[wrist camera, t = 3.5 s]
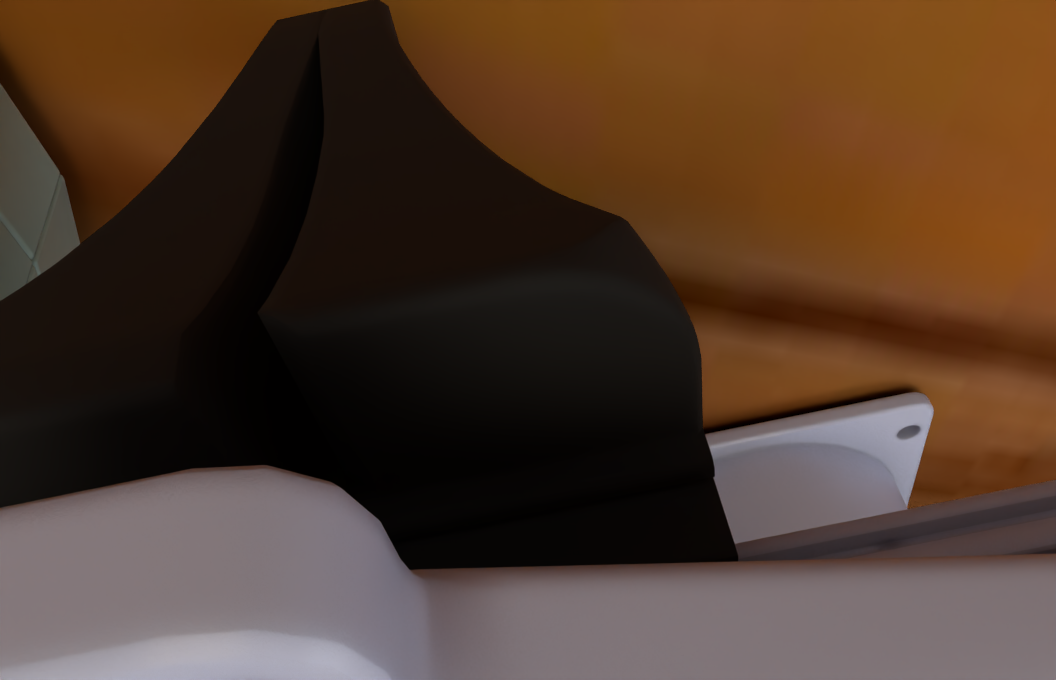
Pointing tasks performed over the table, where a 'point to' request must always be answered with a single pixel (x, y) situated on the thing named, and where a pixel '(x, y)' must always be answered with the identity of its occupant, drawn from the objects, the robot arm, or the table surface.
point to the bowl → (29, 204)
